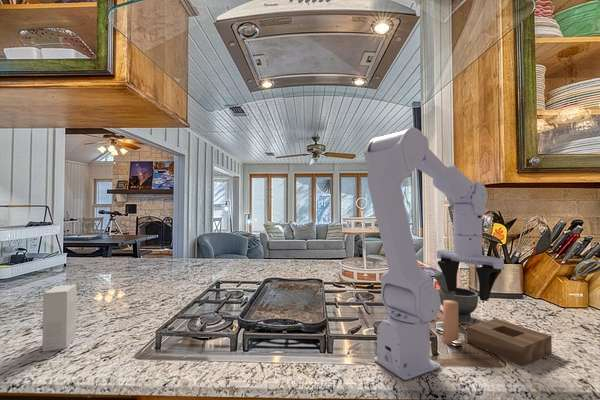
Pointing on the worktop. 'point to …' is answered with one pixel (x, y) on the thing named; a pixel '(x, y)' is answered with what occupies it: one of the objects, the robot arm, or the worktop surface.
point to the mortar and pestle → (458, 298)
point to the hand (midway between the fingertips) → (467, 295)
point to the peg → (450, 321)
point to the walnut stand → (510, 341)
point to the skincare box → (59, 317)
